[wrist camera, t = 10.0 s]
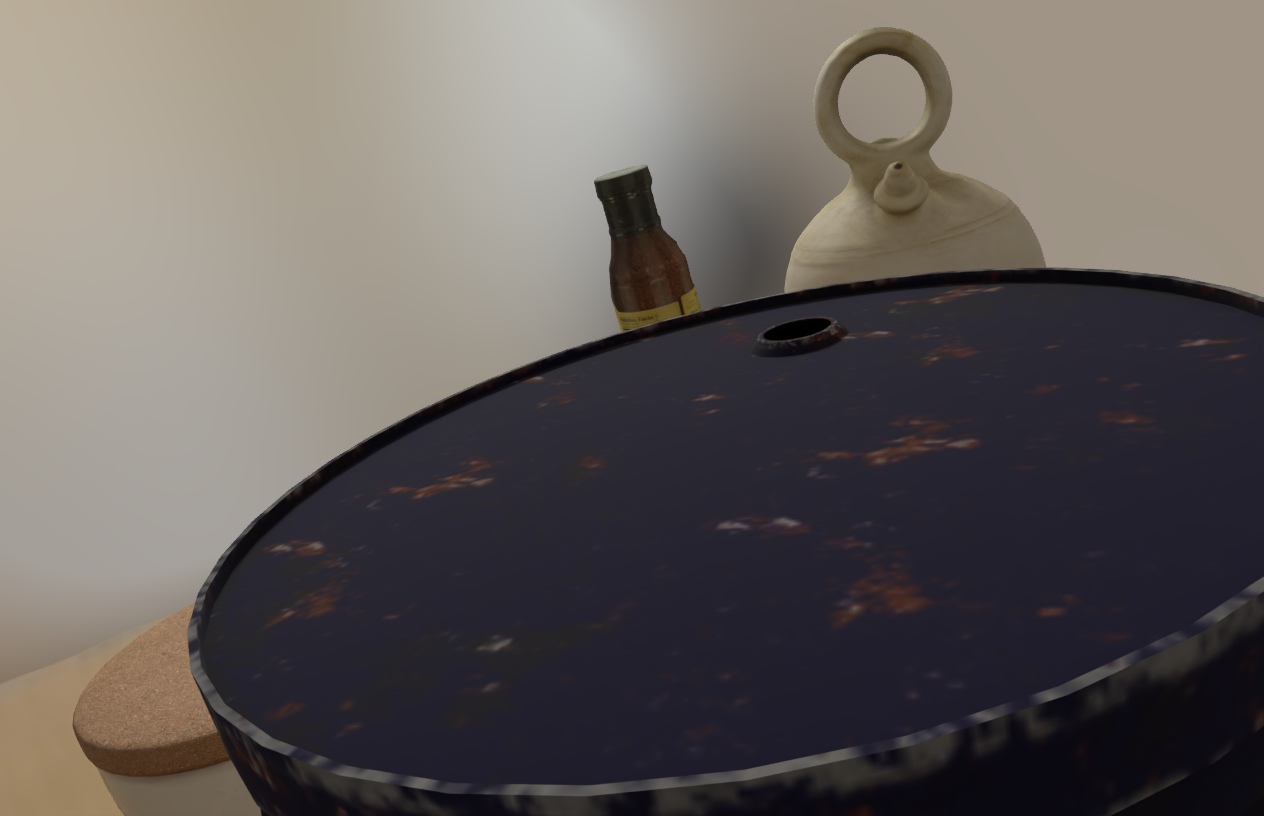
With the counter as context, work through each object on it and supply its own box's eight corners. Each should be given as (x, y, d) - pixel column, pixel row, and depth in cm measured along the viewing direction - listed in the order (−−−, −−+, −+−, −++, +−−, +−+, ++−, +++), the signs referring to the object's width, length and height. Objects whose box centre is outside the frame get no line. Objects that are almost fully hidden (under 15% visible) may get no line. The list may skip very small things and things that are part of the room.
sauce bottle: (698, 403, 79) (641, 161, 73) (744, 415, 74) (686, 155, 68) (631, 433, 76) (566, 183, 70) (674, 448, 71) (607, 179, 65)
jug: (849, 395, 72) (786, 50, 65) (1075, 381, 64) (1032, -14, 57) (781, 486, 60) (693, 74, 53) (1050, 483, 52) (991, -3, 45)
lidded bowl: (491, 874, 35) (396, 612, 32) (133, 1016, 33) (-9, 750, 29) (461, 693, 47) (390, 488, 43) (197, 788, 45) (100, 581, 41)
